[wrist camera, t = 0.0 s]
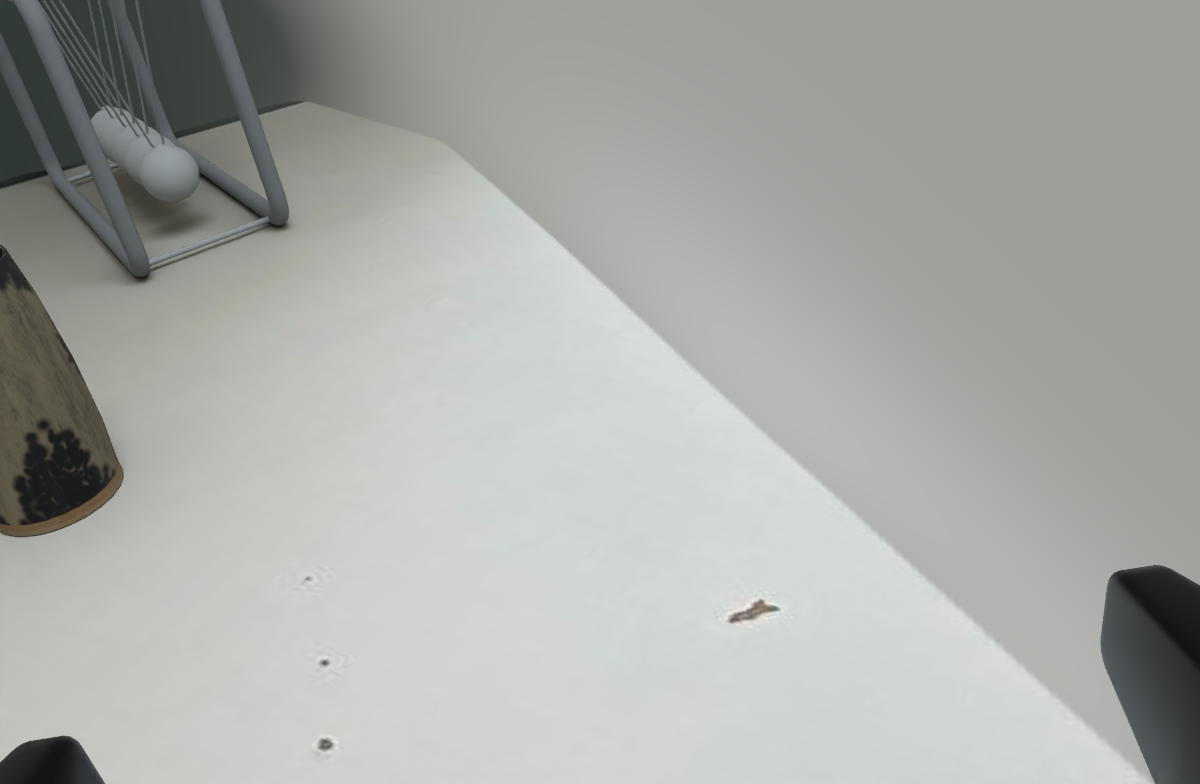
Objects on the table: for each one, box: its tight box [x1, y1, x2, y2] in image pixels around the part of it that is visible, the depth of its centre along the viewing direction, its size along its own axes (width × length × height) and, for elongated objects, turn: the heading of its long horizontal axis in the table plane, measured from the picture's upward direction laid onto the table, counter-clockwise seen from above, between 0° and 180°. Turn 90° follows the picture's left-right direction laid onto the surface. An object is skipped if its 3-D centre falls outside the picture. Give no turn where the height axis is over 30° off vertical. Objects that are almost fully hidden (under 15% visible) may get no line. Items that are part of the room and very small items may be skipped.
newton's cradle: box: [0, 0, 289, 277], centre depth 74 cm, size 30×10×18 cm, turn 35°
